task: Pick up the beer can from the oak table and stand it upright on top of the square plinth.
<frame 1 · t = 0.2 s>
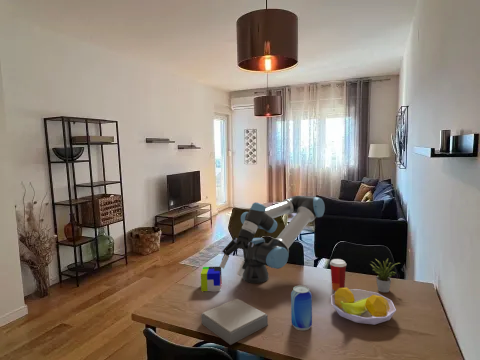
hand: (230, 271, 150), 16 cm above the table, tool tilted 35°, fingers open, 13 cm apart
puzzle toy: (211, 288, 169), on the table
beer can: (301, 326, 129), on the table
coffee cup: (338, 289, 162), on the table
plinth: (234, 324, 132), on the table
fruit bowl: (359, 316, 136), on the table
house plant: (385, 290, 160), on the table
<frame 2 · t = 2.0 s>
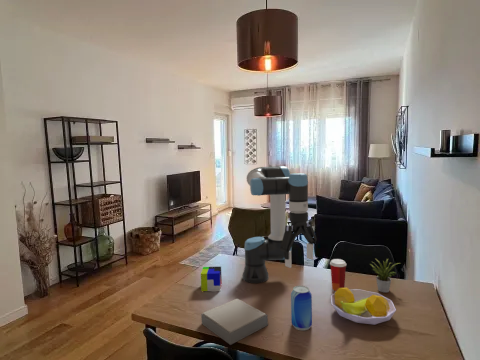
hand: (299, 262, 127), 27 cm above the table, tool pointing down, fingers open, 13 cm apart
nothing on the table moved.
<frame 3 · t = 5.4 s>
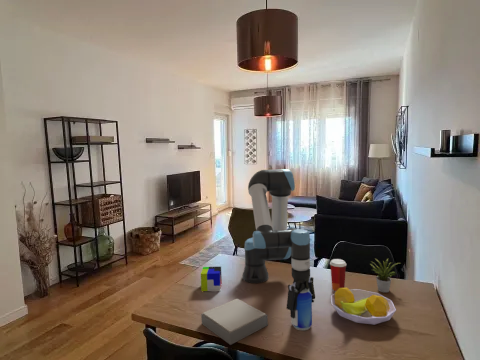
hand: (301, 320, 129), 2 cm above the table, tool pointing down, fingers closed on beer can, 8 cm apart
beer can: (301, 326, 129), on the table, touching gripper
everything else where it was.
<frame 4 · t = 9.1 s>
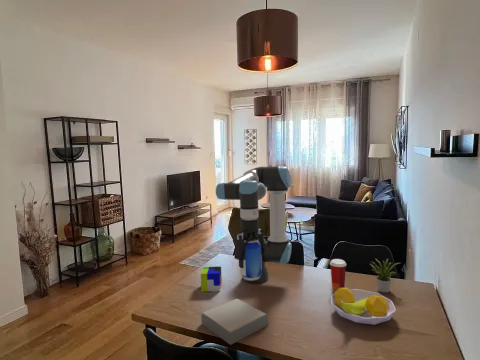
hand: (251, 271, 129), 23 cm above the table, tool pointing down, fingers closed on beer can, 8 cm apart
beer can: (251, 277, 129), point 21 cm above the table, touching gripper
everything else where it was.
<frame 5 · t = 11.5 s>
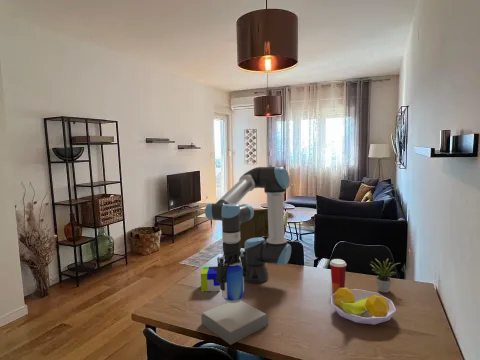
hand: (233, 293, 131), 14 cm above the table, tool pointing down, fingers closed on beer can, 8 cm apart
beer can: (233, 299, 131), point 11 cm above the table, touching gripper
everything else where it was.
when the fingers open (9 cm above the table, at t = 13.3 s): beer can drops 1 cm, resting on plinth.
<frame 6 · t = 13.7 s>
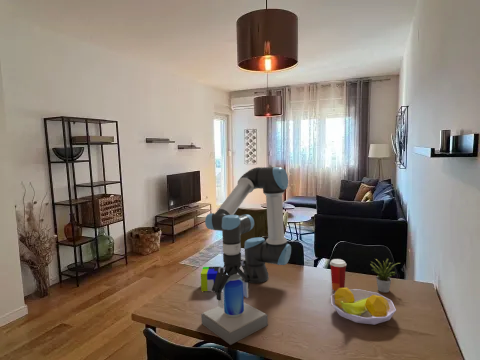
hand: (233, 301, 131), 10 cm above the table, tool pointing down, fingers open, 13 cm apart
beer can: (234, 313, 132), point 5 cm above the table, touching plinth
everything else where it was.
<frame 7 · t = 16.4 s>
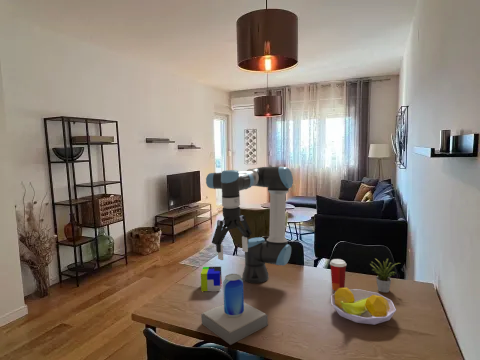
hand: (233, 255, 133), 29 cm above the table, tool pointing down, fingers open, 13 cm apart
nothing on the table moved.
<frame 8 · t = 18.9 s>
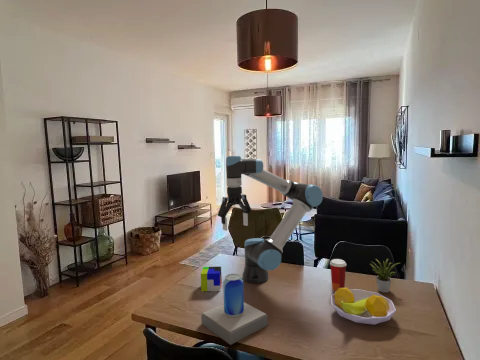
hand: (235, 227, 159), 35 cm above the table, tool pointing down, fingers open, 13 cm apart
nothing on the table moved.
at the end: beer can inside the target area on the plinth (0.1 cm from its centre), point 4.8 cm above the plinth's base; beer can tilted 0°; the gripper is holding nothing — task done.
